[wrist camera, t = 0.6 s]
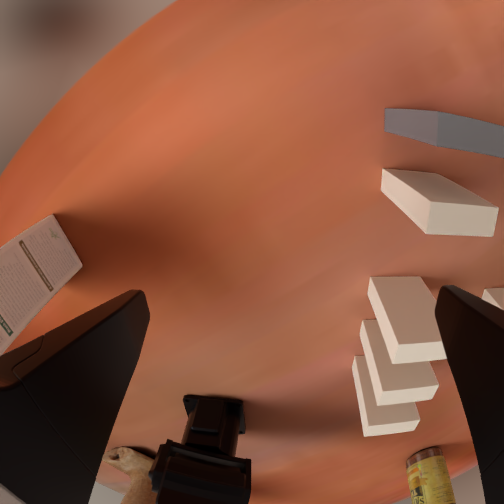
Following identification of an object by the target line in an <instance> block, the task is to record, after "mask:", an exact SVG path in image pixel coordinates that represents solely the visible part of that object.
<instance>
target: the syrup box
mask: <svg viewBox="0 0 504 504" xmlns="http://www.w3.org/2000/svg"><path fill="white" fill-rule="evenodd" d="M82 266H83V265H82V263H81V261H80V259H79V257H78V256H77V254H76V252H75V250H74V249H73V247H72V245H71V244H70V242H69V240H68V239H67V237H66V235H65V234H64V232H63V230H62V229H61V227H60V225H59V224H58V222H57V220H56V218H55V217H54V215H53V214H52V215H49V216H47V217H46V218H44V219H42V220H41V221H39V222H38V223H36V224H34V225H33V226H31V227H30V228H28V229H27V230H25V231H24V232H22V233H21V234H19V235H18V236H16V237H15V238H13V239H12V240H10V241H9V242H7V243H6V244H5V245H3V246H2V247H1V248H0V356H1V355H2V354H3V352H4V351H5V350H6V349H7V348H8V346H9V345H10V344H11V343H12V342H13V341H14V339H15V338H16V337H17V336H18V335H19V334H20V333H21V332H22V330H23V329H24V328H25V327H26V326H27V325H28V324H29V323H30V321H31V320H32V319H33V318H34V317H35V316H36V315H37V314H38V313H39V312H40V311H41V309H42V308H43V307H44V306H45V305H46V304H47V303H48V302H49V301H50V300H51V299H52V298H53V296H54V295H55V294H56V293H57V292H58V291H59V290H60V289H61V288H62V287H63V286H64V285H65V284H66V283H67V282H68V281H69V280H70V279H71V278H72V277H73V276H74V275H75V274H76V273H77V272H78V271H79V270H80V269H81V268H82Z"/></svg>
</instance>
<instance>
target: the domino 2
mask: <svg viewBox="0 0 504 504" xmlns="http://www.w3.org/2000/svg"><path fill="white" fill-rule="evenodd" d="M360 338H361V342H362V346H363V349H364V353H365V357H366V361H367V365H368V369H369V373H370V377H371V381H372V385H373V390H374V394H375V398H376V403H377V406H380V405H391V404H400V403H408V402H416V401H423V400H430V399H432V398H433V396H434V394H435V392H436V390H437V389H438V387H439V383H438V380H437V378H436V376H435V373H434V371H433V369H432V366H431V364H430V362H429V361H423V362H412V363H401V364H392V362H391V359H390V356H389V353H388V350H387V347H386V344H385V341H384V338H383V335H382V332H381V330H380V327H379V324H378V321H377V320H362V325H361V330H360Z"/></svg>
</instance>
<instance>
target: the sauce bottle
mask: <svg viewBox="0 0 504 504" xmlns="http://www.w3.org/2000/svg"><path fill="white" fill-rule="evenodd" d="M406 468H407V471H406V472H407V477H408V482H409V488H410V494H411V499H412V504H456V503H455V498H454V493H453V490H452V485H451V481H450V477H449V473H448V469H447V465H446V462H445V458H444V456H443V454H442V451H441V449H439V448H436V447H435V448H429V449H426V450H422V451H419V452H418V453H416V454H414V455H413V456H412V457H410V458H409V459H408V460H407V462H406Z"/></svg>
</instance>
